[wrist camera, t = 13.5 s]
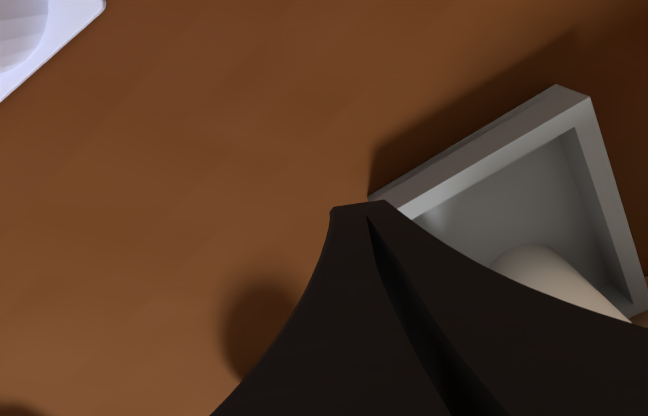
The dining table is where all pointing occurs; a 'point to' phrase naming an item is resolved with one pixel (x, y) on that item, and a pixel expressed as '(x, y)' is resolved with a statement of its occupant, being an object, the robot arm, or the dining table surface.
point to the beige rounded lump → (552, 277)
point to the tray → (531, 194)
